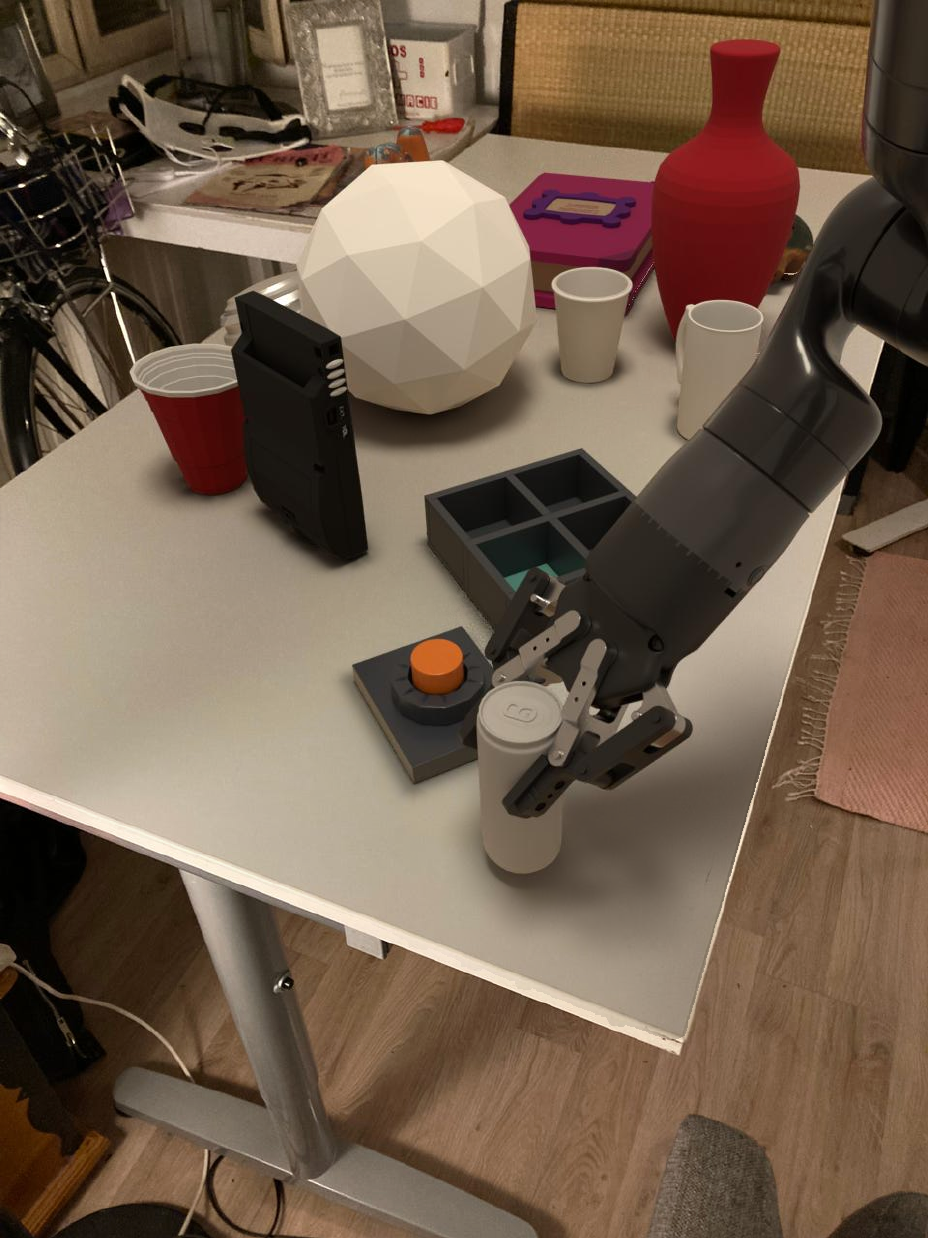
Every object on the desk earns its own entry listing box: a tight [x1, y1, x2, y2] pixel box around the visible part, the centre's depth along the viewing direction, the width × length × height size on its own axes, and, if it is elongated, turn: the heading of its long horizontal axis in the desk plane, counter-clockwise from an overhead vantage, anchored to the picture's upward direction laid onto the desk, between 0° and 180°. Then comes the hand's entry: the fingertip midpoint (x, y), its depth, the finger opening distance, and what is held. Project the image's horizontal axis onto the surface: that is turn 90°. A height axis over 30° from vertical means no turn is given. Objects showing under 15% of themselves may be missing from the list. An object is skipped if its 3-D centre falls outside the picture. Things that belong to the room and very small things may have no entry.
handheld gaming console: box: [231, 291, 369, 561], centre depth 80 cm, size 12×5×20 cm, turn 42°
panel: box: [351, 626, 494, 784], centre depth 69 cm, size 11×9×4 cm
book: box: [508, 172, 655, 318], centre depth 127 cm, size 21×28×8 cm
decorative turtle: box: [771, 213, 814, 284], centre depth 123 cm, size 10×15×8 cm, turn 171°
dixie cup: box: [552, 267, 633, 384], centre depth 104 cm, size 8×8×10 cm
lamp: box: [219, 159, 538, 415], centre depth 99 cm, size 23×35×24 cm, turn 70°
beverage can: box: [477, 681, 564, 874], centre depth 56 cm, size 5×5×12 cm
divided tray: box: [423, 447, 638, 647], centre depth 80 cm, size 15×15×5 cm
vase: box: [651, 38, 801, 344], centre depth 102 cm, size 15×15×30 cm
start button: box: [410, 639, 464, 695], centre depth 67 cm, size 4×4×2 cm
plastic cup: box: [129, 343, 248, 496], centre depth 90 cm, size 11×11×12 cm
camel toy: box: [363, 125, 431, 171], centre depth 127 cm, size 25×13×17 cm, turn 157°
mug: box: [675, 300, 764, 441], centre depth 95 cm, size 10×7×12 cm, turn 24°
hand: (492, 776), depth 54 cm, fingers closed on beverage can, 5 cm apart
